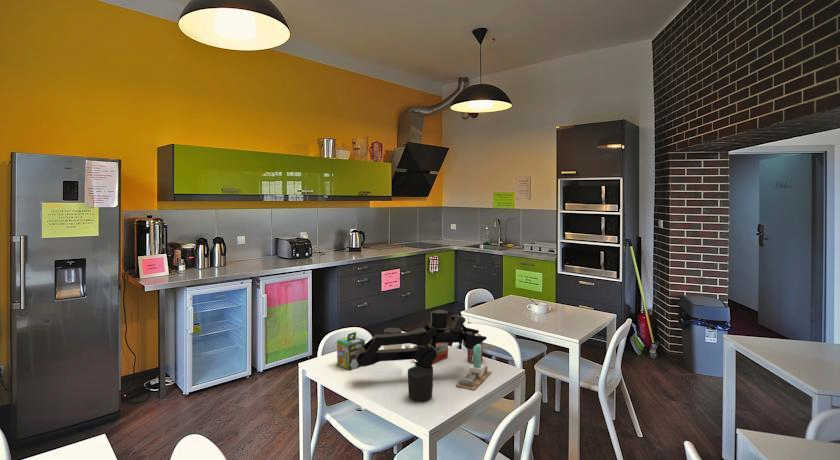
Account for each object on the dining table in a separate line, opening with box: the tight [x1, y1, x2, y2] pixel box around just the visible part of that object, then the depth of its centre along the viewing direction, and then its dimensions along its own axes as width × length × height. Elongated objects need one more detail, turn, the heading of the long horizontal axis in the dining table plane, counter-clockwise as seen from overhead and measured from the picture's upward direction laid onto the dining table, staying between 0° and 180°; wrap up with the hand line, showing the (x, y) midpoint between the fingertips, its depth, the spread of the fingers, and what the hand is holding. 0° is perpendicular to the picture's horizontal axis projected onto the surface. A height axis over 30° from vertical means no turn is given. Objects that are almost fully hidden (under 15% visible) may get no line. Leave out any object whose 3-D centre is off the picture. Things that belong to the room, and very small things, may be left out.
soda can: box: [466, 333, 484, 364], centre depth 202 cm, size 7×7×12 cm
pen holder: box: [407, 366, 434, 403], centre depth 165 cm, size 9×9×10 cm
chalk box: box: [336, 331, 366, 371], centre depth 197 cm, size 9×9×15 cm
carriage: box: [468, 344, 486, 377], centre depth 184 cm, size 5×5×12 cm
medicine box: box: [413, 343, 449, 365], centre depth 204 cm, size 15×8×8 cm, turn 137°
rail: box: [454, 364, 493, 391], centre depth 181 cm, size 20×8×3 cm, turn 152°
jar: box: [383, 327, 403, 350], centre depth 210 cm, size 9×8×12 cm
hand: (482, 334), depth 187 cm, fingers open, 9 cm apart
